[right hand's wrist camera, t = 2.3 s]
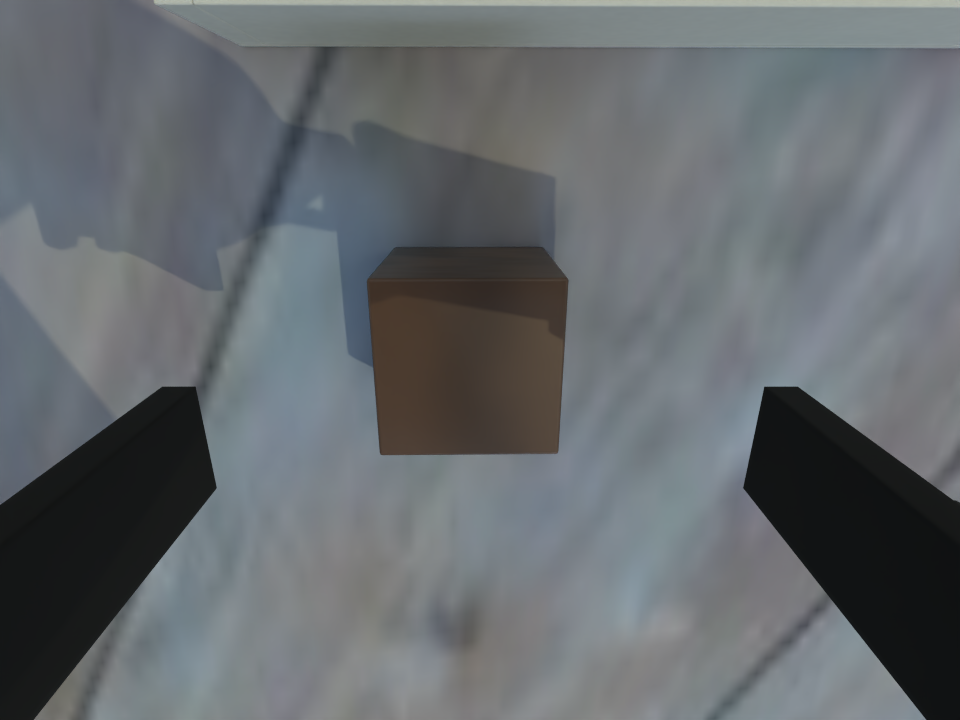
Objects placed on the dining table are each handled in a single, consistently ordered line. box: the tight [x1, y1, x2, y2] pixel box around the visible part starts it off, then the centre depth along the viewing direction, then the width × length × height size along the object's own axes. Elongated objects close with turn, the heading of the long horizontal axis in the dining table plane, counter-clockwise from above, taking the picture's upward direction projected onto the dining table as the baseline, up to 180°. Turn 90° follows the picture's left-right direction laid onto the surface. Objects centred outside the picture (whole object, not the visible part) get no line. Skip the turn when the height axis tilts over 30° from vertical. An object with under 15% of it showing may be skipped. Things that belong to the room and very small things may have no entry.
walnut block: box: [367, 247, 568, 455], centre depth 20 cm, size 6×6×6 cm
